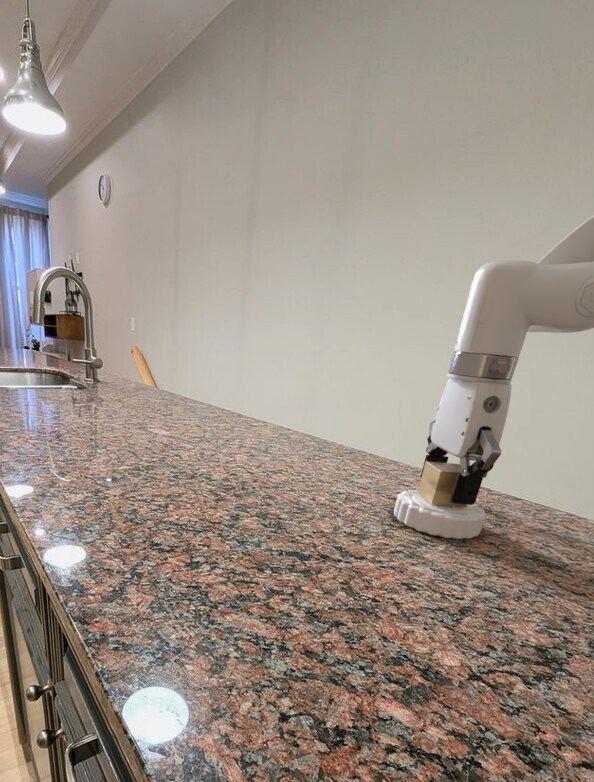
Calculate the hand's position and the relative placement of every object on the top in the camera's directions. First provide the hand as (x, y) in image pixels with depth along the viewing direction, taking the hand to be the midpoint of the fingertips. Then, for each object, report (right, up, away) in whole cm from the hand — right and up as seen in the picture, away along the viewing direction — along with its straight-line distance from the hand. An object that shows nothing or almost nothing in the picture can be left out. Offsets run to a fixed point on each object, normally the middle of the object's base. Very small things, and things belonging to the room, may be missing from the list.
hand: (445, 491), depth 65 cm
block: (0, -1, +1) cm, 1 cm away
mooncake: (0, -5, +2) cm, 5 cm away
